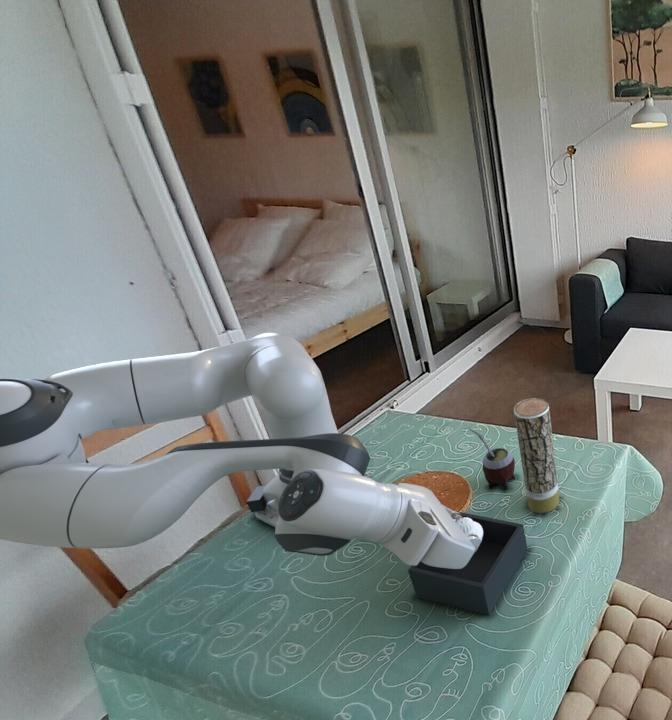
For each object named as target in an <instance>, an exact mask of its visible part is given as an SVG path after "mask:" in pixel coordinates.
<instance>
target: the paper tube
mask: <svg viewBox="0 0 672 720" xmlns="http://www.w3.org/2000/svg"><path fill="white" fill-rule="evenodd" d="M550 412H551V411H550V405H549V403H548V400H547V401H546V400H545V399H542V398H539V397H532V398H531V397H530V398H527V399H523V400H521V401H519V402H518V403H516V404H515V405H514V407H513V414H514V421H515V428H516V433H517V441H518V447H519V454H520V462H521V467H522V474H523V481H524V488H525V494H526V500H527V506H528V508H529V510H531V511H532V512H533V513H535V514H546V513H550V512H552V511H553V510H555V509H556V508H557V507H558V505H559V503H560V494H559V493H560V492H559V484H558V476H557V466H556V465H557V464H556V458H555V456H556V455H555V448H554V439H553V431H552V421H551V413H550Z"/></svg>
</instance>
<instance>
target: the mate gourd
mask: <svg viewBox="0 0 672 720" xmlns="http://www.w3.org/2000/svg"><path fill="white" fill-rule="evenodd" d="M467 430H469V431H471V432H472V433H474V434H475V435H477V436H478V438H479V439H480V441H482V444H483V445H484V446H485V448H486V450H487V451H488V452H486V454H485V455H484V456H483V459H482V472H483V475H484V478H485V481H486V482H487V484H488V485H487V486H488V489H492V488H495V487H497V486H501V487H502V489H503V490H504V491H507V490H509V487H508V485H507V482H509V481H512V480H514V479H516V476H515V475H514V473H515V467H516V462H515V458H514V455H513V454H512V453H511V451H510V450H509V449H506V448H504V447H497V448H493V449H491V448H490V446H489V445H488V443H487V441H486V439H485V437H484V435H483V434H481V433H480V432H479V431H477V430H475V429H473V428H471V427H470V426H468V427H467Z"/></svg>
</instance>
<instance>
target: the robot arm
mask: <svg viewBox="0 0 672 720" xmlns="http://www.w3.org/2000/svg"><path fill="white" fill-rule="evenodd" d="M248 397H251V398H252V400H253V402H254V405H255V407H256V409H257V412H258V414H259V416H260V419H261V420H262V423H263V425H264V428H265V430H266V432H267V433H268V437H269V438H264V439H263V438H262V439H243V440H226V441H225V440H224V441H209V442H208V441H207V442H197V443H190V444H183V445H179V446H176V447H174V448H172V449H170V450H169V451H168V452H167V453H165V454H164V455H161V456H158V457H155V458H152V459H148V460H145V461H140V462H135V463H124V464H114V463H98V462H97V463H96V462H95V463H94V462H92V463H91V462H89V460H88V459H87V457H86V454H85V449H84V446H83V443H82V440H84V439H86V438H88V437H89V436H92V435H94V434H97V433H99V432H104V431H114V430H115V431H116V430H123V429H130V428H137V427H143V426H149V425H155V424H160V423H167V422H172V421H177V420H184V419H190V418H195V417H201V416H206V415H208V414H211V413H212V412H215V410H217V409H219V408H220V407H223V406H225V405H228V404H230V403H233V402H236V401H238V400H242V399H244V398H248ZM370 461H371V456H370V454H369V452H368V450H367V447H365V445H364V444H363V442H361V440H359V438H358V437H356V436H354V435H350V434H345V433H339V431H338V428H337V425H336V423H335V419H334V416H333V413H332V409H331V404H330V400H329V395H328V392H327V388H326V385H325V381H324V378H323V374H322V372H321V370H320V368H319V367H318V365H317V364H316V362H315V361H314V359H313V358H312V356H311V355H310V354H309V353H308V352H307V350H306V348H305V347H304V346H303V344H301V342H299V341H298V340H297V339H295V338H293V337H291V336H289V335H286V334H283V333H280V332H273V331H272V332H264V333H261V334H257V335H255V336H253V337H251V338H249V339H245V340H240V341H235V342H231V343H228V344H224V345H219V346H215V347H212V348H207V349H204V350H197V351H193V352H192V351H191V352H185V353H184V352H183V353H175V354H167V355H161V356H160V355H159V356H150V357H141V358H132V359H124V360H115V361H109V362H103V363H98V364H97V363H96V364H92V365H87V366H83V367H79V368H73V369H70V370H65V371H61V372H58V373H55V374H52V375H50V376H47V377H46V378H44V379H37V378H21V377H11V378H10V377H6V378H0V540H2V541H8V542H12V543H20V544H27V545H34V546H42V547H51V548H52V547H53V548H62V549H64V548H65V549H93V550H94V549H97V550H98V549H117V548H127V547H134V546H137V545H140V544H143V543H145V542H147V541H150V540H152V539H153V538H155V537H157V536H159V535H160V534H162V533H164V532H165V531H166V530H168V529H169V528H171V527H172V525H174V524H175V523H176V522H177V521H179V519H181V517H183V516H184V515H185V513H186V512H187V511H188V510H189V509H190V508H191V507H192V506H193V504H194V503H195V502H196V501H197V500H198V499H199V498H200V497H201V496H202V494H204V493H205V492H206V491H207V490H208V489H209V488H210V487H212V485H214V484H215V483H217V482H218V481H220V480H221V479H223V478H225V477H227V476H228V475H232V474H234V473H239V472H249V471H251V472H252V471H265V470H267V471H268V470H278V473H277V475H275V476H274V477H273V478H272V479H271V480H270V481H269V482H268V483H267V484H265V485H260V486H256V487H255V489H254V490H253V491H252V492H251V494H250V496H249V497H248V498H247V500H246V502H245V503H246V505H247V506H248V509H249V511H250V513H254V515H255V518H257V519H258V520H259V521H261V522H264V523H266V524H268V525H269V526H271V527H273V528H275V530H274V531H275V532H274V538H275V540H276V542H277V543H278V544H279V546H280V547H281V548H282V549H283V550H284V551H285V552H286V553H297V554H304V555H311V556H320V557H325V556H331V555H333V554H334V553H336V552H337V551H340V549H342V548H343V547H345V546H347V545H348V544H349V543H350V542H351V540H352V539H353V538H359V539H363V540H365V541H367V542H369V543H373V544H374V543H375V544H380V545H381V546H382V547H383V548H385V549H387V550H389V551H390V552H392V554H394V555H395V556H397V557H398V558H399V559H400V560H401V562H403V563H404V564H405V565H407V566H416V565H418V563H419V562H420V561H421V562H422V563H424V564H426V565H429V566H433V567H440V568H448V569H461V568H463V567H465V566H466V565H467V563H468V562H469V560H470V559H471V557H472V555H473V554H474V552H475V548H477V547H478V545H479V544H480V542H481V539H480V538H479V537H478V536H477V535H474V534H470V535H469V537H467V536H466V535H465V534H464V532H463V531H462V530H461V529H460V527H459V526H458V525H457V523H456V521H457V520H459V519H460V518H462V516H461V515H460V513H459V512H460V511H457V510H452V509H450V508H449V507H448V506H446V505H444V504H442V503H441V502H440V500H439V499H438V497H437V496H436V495H435V493H433V491H432V490H431V489H429V488H427V487H426V486H422V485H418V484H413V483H407V482H399V483H392V482H385V483H383V482H377V481H376V480H374V479H373V478H371V477H368V476H366V472H367V469H368V466H369V465H370ZM456 511H457V512H456Z"/></svg>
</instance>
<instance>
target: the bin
mask: <svg viewBox="0 0 672 720" xmlns="http://www.w3.org/2000/svg"><path fill="white" fill-rule="evenodd" d="M455 511H456V512H459V513H460V515H461V516H462V518H464V517H465V518H466V517H468V518H470V519H472V520H473V521H475V522H477V523H479V524H480V525H481V527H482V529H483V537H482V541H481V543H480V545H479V547H478V549H477V551H476V552H475V553H474V554H473V555H472V557H471V559H470V560H469V562H468V563H467V565H466V566H465V567H463V568H461V569H448V568H440V567H433V566H429V565H426V564H424V563H422V562H421V561H420V562H419V563H418V565H416V566H412V565H410V567H409V568H408V569H407V573H408V575H409V579H410V582H411V585H412V589H413V591H414V595H415V597H416V598H419V599H423V600H427V601H430V602H435V603H439V604H442V605H448V606H451V607H455V608H460V609H463V610H468V611H471V612H475V613H479V614H482V615H483V614H484V615H488V616H489V615H491V613H492V611H493V610H494V608H495V606H496V605H497V603H498V601H499V600H500V598H501V596H502V595H503V592H504V591H505V589H506V587H507V586H508V584H509V582H510V581H511V579H512V578H513V576H514V574H515V572H516V571H517V569H518V567H519V566H520V564H521V562H522V560H523V558H524V557H525V555H526V553H527V552H528V544H527V538H526V532H525V526H524V524H523V523H518V522H513V521H507V520H502V519H498V518H492V517H487V516H483V515H478V514H472V513H467V512H464V511H463V512H462V511H457V510H455Z"/></svg>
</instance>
